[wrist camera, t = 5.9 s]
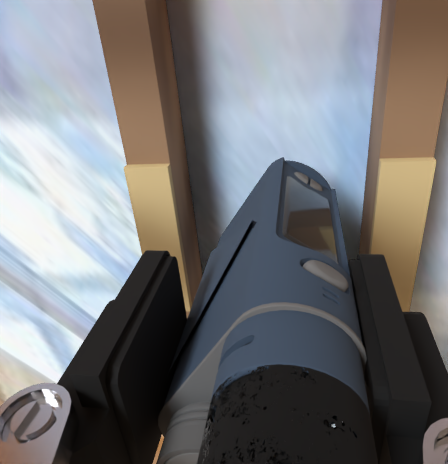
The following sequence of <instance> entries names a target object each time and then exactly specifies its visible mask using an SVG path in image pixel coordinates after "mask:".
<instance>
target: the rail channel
mask: <svg viewBox="0 0 448 464" xmlns="http://www.w3.org/2000/svg"><path fill="white" fill-rule="evenodd" d="M93 5H94V10H95V15H96V19H97V24H98V29H99V34H100V39H101V43H102V48H103V53H104V58H105V62H106V67H107V72H108V77H109V81H110V86H111V91H112V96H113V100H114V105H115V110H116V115H117V119H118V124H119V129H120V134H121V138H122V143H123V148H124V153H125V157H126V162H127V165H126V166H125V167H124V172H125V176H126V181H127V186H128V190H129V195H130V200H131V204H132V209H133V214H134V218H135V223H136V228H137V232H138V237H139V241H140V246H141V251H142V255H143V253H144V252H145V251H147V250H156V251H168V252H169V253H170V256H175V257H176V258H177V261H178V267H179V273H180V279H181V285H182V291H183V297H184V303H185V309H186V315H187V318H188V315H189V313H190V310H191V307H192V304H193V301H194V298H195V296H196V293H197V290H198V287H199V284H200V281H201V279H202V268H201V261H200V253H199V246H198V238H197V231H196V223H195V216H194V208H193V201H192V193H191V186H190V178H189V171H188V163H187V156H186V148H185V141H184V133H183V126H182V118H181V111H180V103H179V96H178V88H177V81H176V73H175V66H174V58H173V51H172V43H171V36H170V28H169V21H168V13H167V6H166V0H93ZM447 79H448V0H383V1H382V12H381V23H380V33H379V44H378V54H377V65H376V76H375V86H374V97H373V107H372V118H371V129H370V139H369V150H368V161H367V171H366V182H365V192H364V203H363V214H362V224H361V235H360V246H359V254H383V255H384V257H385V259H386V263H387V266H388V269H389V272H390V275H391V278H392V281H393V284H394V287H395V290H396V294H397V297H398V300H399V303H400V306H401V309H402V312H409V310H410V305H411V299H412V294H413V288H414V283H415V277H416V272H417V266H418V261H419V255H420V250H421V244H422V239H423V233H424V228H425V222H426V216H427V211H428V205H429V200H430V194H431V189H432V183H433V178H434V172H435V167H436V160H435V158H434V152H435V147H436V141H437V135H438V130H439V124H440V118H441V113H442V107H443V101H444V96H445V90H446V85H447Z"/></svg>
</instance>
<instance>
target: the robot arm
mask: <svg viewBox="0 0 448 464" xmlns="http://www.w3.org/2000/svg"><path fill="white" fill-rule="evenodd" d="M348 267H349V272H350V277H351V280H352V286H353V291H354V297H355V303H356V308H357V314H358V319H359V325H360V331H361V336H362V342H363V346H364V348H365V351H366V356H367V358H366V367H365V375H364V381H365V387H366V393H367V399H368V405H369V411H370V417H371V423H372V430H373V436H374V442H375V448H376V454H377V460H378V464H448V373H447V370H446V368H445V365H444V363H443V360H442V358H441V355H440V353H439V350H438V347H437V345H436V342H435V340H434V337H433V335H432V332H431V330H430V327H429V324H428V322H427V319H426V317H425V316H424V314H423V313H421V312H402V309H401V306H400V303H399V300H398V297H397V294H396V290H395V287H394V284H393V281H392V278H391V275H390V272H389V269H388V266H387V263H386V259H385V257H384V255H383V254H358V256H357V260H349V262H348ZM186 322H187V315H186V309H185V303H184V297H183V291H182V285H181V279H180V273H179V267H178V261H177V258H176V257H175V256H170V253H169V252H168V251H156V250H147V251H145V252H144V253H143V255H142V256H141V258H140V260H139V261H138V263H137V265H136V266H135V268H134V269H133V271H132V273H131V274H130V276H129V278H128V279H127V281H126V283H125V284H124V286H123V287H122V289H121V291H120V292H119V294H118V296H117V297H116V299H115V300H112V301H110V302H109V303H108V304H107V305H106V307H105V309H104V310H103V312H102V313H101V315H100V317H99V318H98V320H97V321H96V323H95V324H94V326H93V328H92V329H91V331H90V332H89V334H88V336H87V337H86V339H85V340H84V342H83V344H82V345H81V347H80V348H79V350H78V351H77V353H76V355H75V356H74V358H73V359H72V361H71V363H70V364H69V366H68V367H67V369H66V370H65V372H64V374H63V375H62V377H61V378H60V380H59V382H58V383H57V384H55V383H42V384H37V385H32V386H30V387H28V388H25V389H23V390H20V391H19V392H17V393H16V394H14V395H13V396H11V397H10V398H8V399H7V400H6V401H5V402H4V403H3V404H2V405H1V406H0V464H152V463H153V460H154V457H155V454H156V451H157V447H158V444H159V441H160V438H161V435H162V433H161V431H160V429H159V426H158V417H159V413H160V411H161V410H162V408H163V406H164V403H165V400H166V397H167V394H168V391H169V388H170V385H171V382H172V379H173V376H174V373H175V370H176V367H177V364H178V361H179V358H180V355H181V352H182V349H183V348H182V349H181V351H180V353H179V355H178V357H177V359H176V360H175V362H174V364H173V366H172V368H171V369H170V367H171V364H172V361H173V359H174V356H175V353H176V350H177V347H178V344H179V342H180V339H181V336H182V333H183V330H184V327H185V325H186ZM169 370H170V371H169ZM167 375H168V376H167Z"/></svg>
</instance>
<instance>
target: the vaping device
mask: <svg viewBox="0 0 448 464" xmlns="http://www.w3.org/2000/svg"><path fill="white" fill-rule="evenodd" d="M182 348H183V349H182ZM181 349H182V352H181V355H180V358H179V361H178V364H177V367H176V370H175V373H174V376H173V379H172V382H171V385H170V388H169V391H168V394H167V397H166V400H165V403H164V406H163V408H162V410H161V411H160V413H159V417H158V426H159V429H160V431H161V433H162V434H163V436H164V441H163V444H162V447H161V450H160V454H159V457H158V460H157V463H156V464H378V460H377V454H376V448H375V442H374V436H373V430H372V423H371V417H370V411H369V405H368V399H367V393H366V387H365V381H364V375H365V367H366V358H367V356H366V351H365V348H364V346H363V342H362V336H361V331H360V325H359V319H358V314H357V308H356V303H355V297H354V291H353V286H352V280H351V277H350V272H349V267H348V261H347V255H346V250H345V244H344V238H343V233H342V227H341V221H340V216H339V210H338V204H337V199H336V193H335V189H332V190H331V188H330V186H329V184H328V183H327V181H326V180H325V179H324V178H323V176H321V175H320V174H319V173H318V172H317V171H315V170H314V169H312V168H311V167H309V166H307V165H304V164H302V163H299V162H295V161H285V160H284V157H283V158H280V159H278V160H276V161H275V162H273V163H272V164H271V165H270V166H269V167H268V169H267V170H266V172H265V173H264V174H263V176H262V177H261V179H260V180H259V182H258V183H257V185H256V186H255V188H254V189H253V190H252V192H251V193H250V195H249V196H248V198H247V199H246V201H245V202H244V204H243V205H242V206H241V208H240V209H239V211H238V212H237V214H236V215H235V217H234V218H233V220H232V221H231V222H230V224H229V225H228V227H227V228H226V230H225V231H224V233H223V234H222V236H221V238H220V240H219V243H218V246H217V247H216V248H215V249H214V250H213V251H211V254H210V256H209V259H208V262H207V265H206V267H205V270H204V273H203V276H202V279H201V281H200V284H199V287H198V290H197V293H196V296H195V298H194V301H193V304H192V307H191V310H190V313H189V315H188V318H187V322H186V325H185V327H184V330H183V333H182V336H181V339H180V342H179V344H178V347H177V350H176V353H175V356H174V359H173V361H172V364H171V367H170V369H171V368H172V366H173V364H174V362H175V360H176V359H177V357H178V355H179V353H180V351H181ZM169 371H170V370H169ZM167 376H168V375H167ZM342 421H343V422H342ZM334 423H335V426H336V427H335V428H333V426H332V427H331V425H332V424H334ZM329 425H330V426H329Z"/></svg>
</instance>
